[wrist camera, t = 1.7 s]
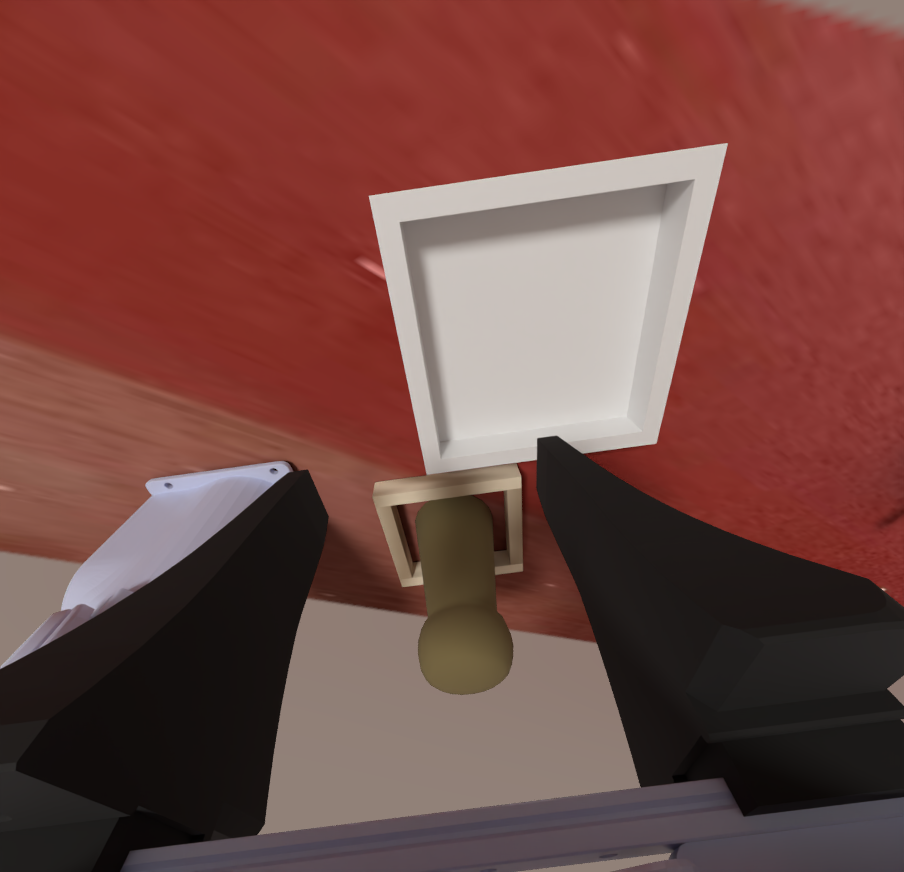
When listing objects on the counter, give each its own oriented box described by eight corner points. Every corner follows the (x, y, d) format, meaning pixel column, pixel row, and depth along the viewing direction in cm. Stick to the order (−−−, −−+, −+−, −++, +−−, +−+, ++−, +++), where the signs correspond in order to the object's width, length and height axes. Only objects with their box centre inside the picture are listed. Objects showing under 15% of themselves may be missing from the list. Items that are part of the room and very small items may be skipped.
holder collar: (403, 571, 29) (402, 587, 28) (375, 482, 24) (372, 496, 23) (518, 556, 29) (523, 571, 28) (516, 463, 24) (521, 476, 23)
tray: (426, 451, 23) (426, 474, 21) (376, 199, 15) (369, 196, 13) (634, 422, 23) (656, 443, 21) (685, 154, 15) (727, 143, 13)
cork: (496, 541, 28) (530, 700, 19) (424, 554, 28) (423, 716, 19) (487, 486, 25) (524, 644, 16) (406, 500, 25) (395, 664, 16)
